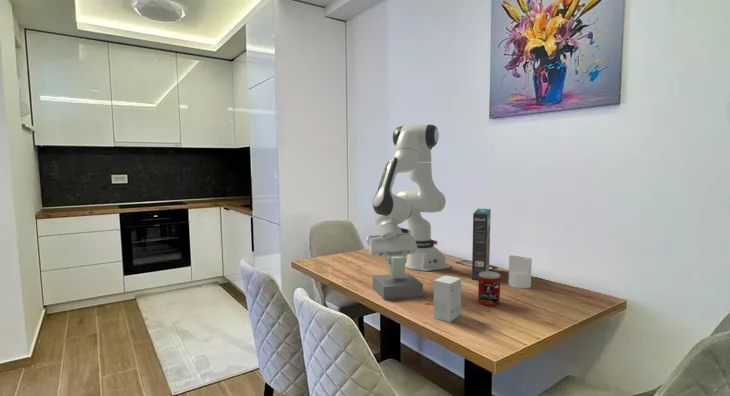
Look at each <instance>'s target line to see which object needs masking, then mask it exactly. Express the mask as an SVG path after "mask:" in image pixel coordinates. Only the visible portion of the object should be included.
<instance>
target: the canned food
mask: <svg viewBox="0 0 730 396" xmlns="http://www.w3.org/2000/svg"><path fill="white" fill-rule="evenodd" d="M477 288H478V291H477V294H478V295H477V297H478V299H477V300H478V303H479V304H480V305H482V306H484V307H497V306H499V305H500V302H501V301H500V299H501V298H500V297H501V273H498V272H496V271H490V270H489V271H483V272H480V273H479V280H478V287H477Z"/></svg>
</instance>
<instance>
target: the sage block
mask: <svg viewBox="0 0 730 396" xmlns="http://www.w3.org/2000/svg"><path fill="white" fill-rule="evenodd" d="M388 258H389V259H391V264H388V266H389V267H388V274H389V275H390V276H391V277H392V278H401V277H405V273H406V266H405V265H406V263H405V257H404V256H403V255H388Z"/></svg>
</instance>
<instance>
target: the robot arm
mask: <svg viewBox="0 0 730 396" xmlns="http://www.w3.org/2000/svg"><path fill="white" fill-rule="evenodd" d="M437 127H438V126H436V125H434V124H413V125H405V126H403V125H402V126H398V127H396V128H395V129H394V130H393V132H392V142H393V145H394V146H395V147H394V148H395V149H394V154H393V156H392V157H391V158H390V159H388V160H387V162H386V164H385V167H384V169H383V173H382V176H381V179H380V181H379V184H378V187H377V190H376V193H375V195H374V197H373V199H372V208H373V210H374V220H375V223H376V226H377V232H378V235H369V236H367V238H366V241H367V244H368V245H369V246H368V252H369V255H370V257H382V258H383V260H385V262H386V264H387V265H389V264H391V259H389V256H390V255H402V256H403V257H405V268H408V269H410V270H415V271H416V270H418V271H423V272H431V271H436V270H437V271H438V270H444V269H450V268H451V265H450V263H448V262H447V261H446V255H445V254H444V253H443V252H442V251H441V250H439V248H437V247H435V245H436V246H437V245H438V243H439V242H438V240H435V239H434V240H433V239H432V236H431V235H432V226H431V222H430V221H428V220H427V219H425V218H424V217H423V216H422V214H421V213H437V212H438V213H440V212H442V211H443V210H444V209H445V206H446V204H447V203H446V202H447V201H446V196H445V195H444V193H443V192H441V191H440V190H439V188H437V186H436V185H435V183H434V179H433V173H432V152H431V151H432V149H433V148H434V147H436V145H437V143H438V142H439V138H440V135H439V130H438V128H437ZM402 173H404V174H405V173H409V174H408V176H409V180H411V181H412V182H413V183H415V184H416V185H417V186H418V188H419V189H417V190H416V189H406V190H401V191H399V192H398V193H397V195H396V194H394V193H393V191H392V189H393V186H394V184H395V183H394V182H395V179H396V176H397V174H402ZM405 221H407V225H408V228H404V227H400V226H399V224H402V223H403V222H405Z"/></svg>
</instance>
